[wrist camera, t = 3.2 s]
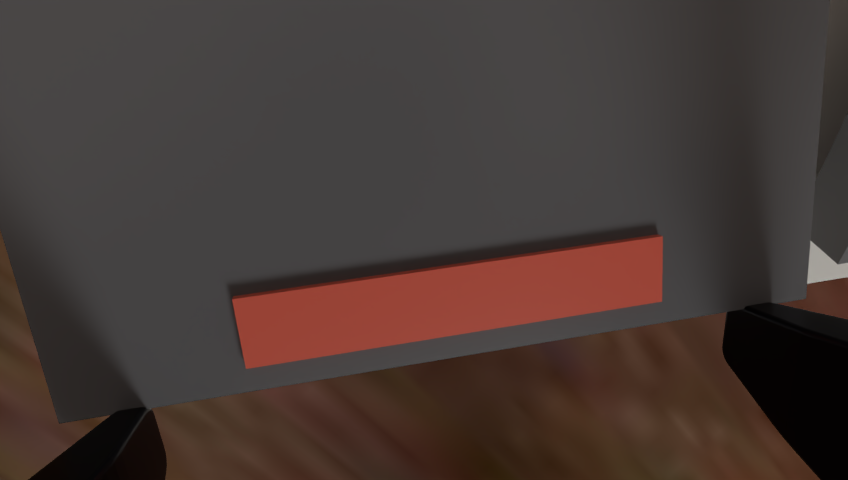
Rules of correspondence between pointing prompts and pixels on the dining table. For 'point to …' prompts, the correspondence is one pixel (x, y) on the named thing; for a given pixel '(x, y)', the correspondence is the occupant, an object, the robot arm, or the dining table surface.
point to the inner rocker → (833, 201)
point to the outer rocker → (391, 180)
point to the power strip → (831, 121)
